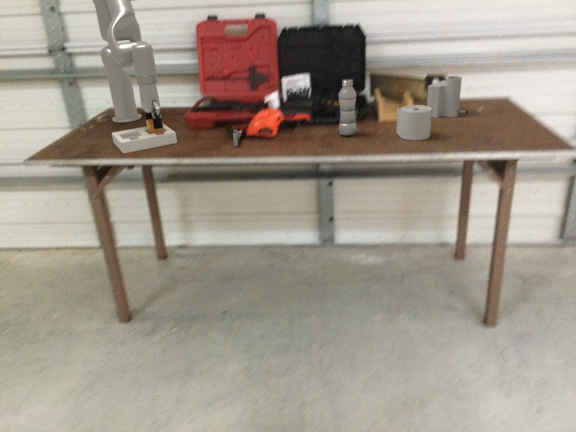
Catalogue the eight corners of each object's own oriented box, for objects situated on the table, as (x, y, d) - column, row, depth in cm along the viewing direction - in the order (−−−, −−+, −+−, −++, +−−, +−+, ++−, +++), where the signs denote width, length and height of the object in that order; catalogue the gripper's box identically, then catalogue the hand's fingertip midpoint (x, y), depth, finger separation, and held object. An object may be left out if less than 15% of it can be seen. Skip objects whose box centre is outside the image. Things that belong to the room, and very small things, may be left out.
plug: (149, 140, 197) (145, 119, 193) (162, 137, 199) (158, 117, 195) (152, 143, 193) (149, 122, 189) (165, 140, 195) (162, 120, 191)
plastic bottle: (358, 132, 190) (359, 78, 182) (353, 138, 185) (353, 82, 176) (342, 131, 193) (342, 77, 184) (336, 136, 187) (335, 81, 179)
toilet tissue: (429, 141, 177) (431, 112, 173) (394, 140, 180) (395, 112, 176) (429, 132, 186) (431, 104, 182) (396, 131, 189) (397, 104, 185)
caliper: (237, 148, 183) (235, 131, 180) (234, 148, 183) (232, 131, 180) (246, 131, 201) (245, 115, 198) (243, 131, 201) (242, 116, 198)
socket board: (113, 142, 196) (111, 131, 194) (164, 133, 204) (162, 121, 202) (123, 153, 183) (120, 141, 181) (177, 142, 191) (175, 130, 189)
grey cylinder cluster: (441, 109, 214) (444, 73, 207) (473, 114, 205) (477, 76, 198) (426, 116, 206) (428, 78, 200) (458, 121, 197) (462, 81, 190)
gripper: (130, 77, 191) (139, 122, 198) (142, 84, 177) (151, 132, 185) (150, 75, 194) (158, 119, 201) (164, 81, 180) (171, 128, 188)
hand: (154, 125), depth 193 cm, fingers open, 9 cm apart
